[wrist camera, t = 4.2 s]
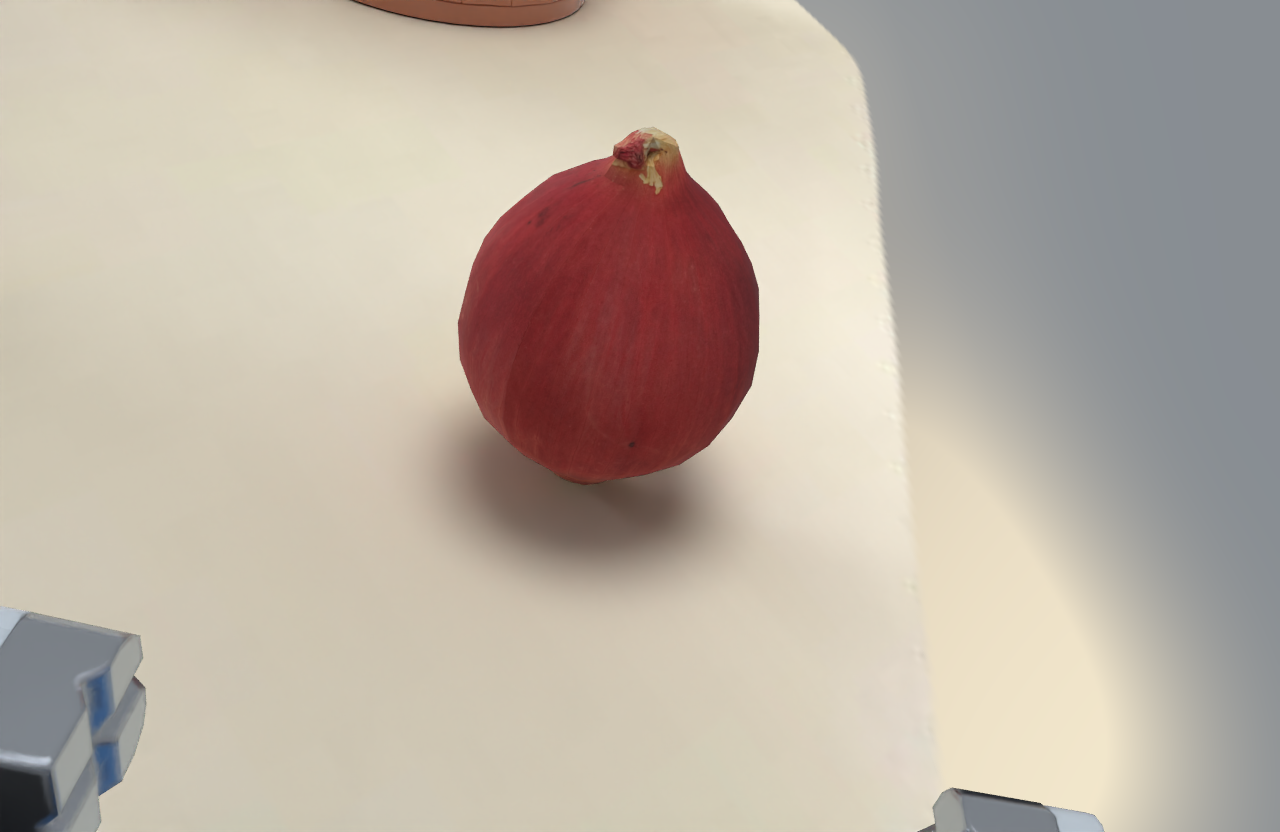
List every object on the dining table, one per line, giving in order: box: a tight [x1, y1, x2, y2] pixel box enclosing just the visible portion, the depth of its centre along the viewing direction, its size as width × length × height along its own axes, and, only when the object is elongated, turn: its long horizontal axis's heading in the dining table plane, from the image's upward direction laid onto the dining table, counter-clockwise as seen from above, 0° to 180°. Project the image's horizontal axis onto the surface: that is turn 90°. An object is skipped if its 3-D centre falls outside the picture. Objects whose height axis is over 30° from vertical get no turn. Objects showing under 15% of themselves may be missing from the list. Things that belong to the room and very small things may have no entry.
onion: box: [458, 127, 759, 485], centre depth 22 cm, size 6×6×8 cm
